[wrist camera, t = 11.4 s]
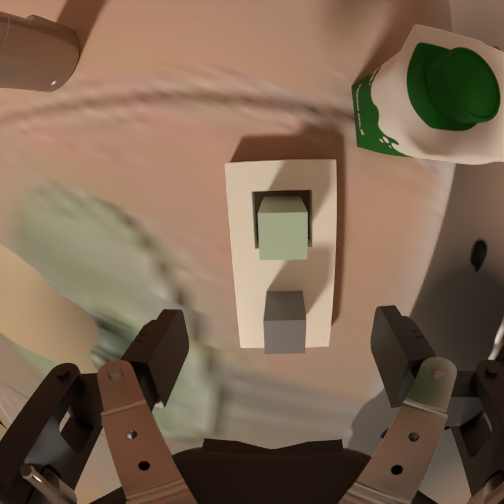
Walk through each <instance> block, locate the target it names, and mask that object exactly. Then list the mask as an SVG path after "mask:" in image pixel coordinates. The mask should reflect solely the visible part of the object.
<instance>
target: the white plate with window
mask: <svg viewBox="0 0 504 504" xmlns="http://www.w3.org/2000/svg"><path fill="white" fill-rule="evenodd" d="M225 174H226V188H227V201H228V214H229V227H230V239H231V250H232V262H233V273H234V284H235V295H236V306H237V316H238V326H239V336H240V346H241V348H265V354H287V353H305V347H327V346H329V340H330V330H331V319H332V306H333V293H334V276H335V256H336V221H337V177H336V160H334V159H286V160H260V161H242V162H229V163H225ZM280 190H309V204H310V239H308V251H307V259H301V260H260V255H259V240H257V228H256V210H255V193H254V191H280Z"/></svg>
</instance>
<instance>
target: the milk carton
mask: <svg viewBox="0 0 504 504" xmlns="http://www.w3.org/2000/svg"><path fill="white" fill-rule="evenodd" d="M351 89H352V96H353V105H354V114H355V124H356V136H357V147H361V148H364V149H368V150H372V151H375V152H379V153H383V154H389V155H395V156H403V157H413V158H423V159H432V160H441V161H452V162H455V163H460V164H473V165H474V164H485V163H490V162H494V161H500V162H504V52H502V51H500V50H498V49H495V48H493V47H490V46H487V45H485V44H484V42H482V41H479V40H477V39H474V38H469V37H466V36H463V35H459V34H455V33H452V32H449V31H445V30H441V29H437V28H433V27H429V26H424V25H419V24H416V25H414V26H413V28H412V30H411V32H410V34H409V35H408V37H407V39H406V41H405V43H404V45H403V46H402V48H401V50H400V51H399V52H398V53H397V54H395V55H394V56H393V57H391V58H390V59H389V60H388V61H386V62H385V63H384V64H383V65H381V66H380V67H379V68H378V69H376V70H375V71H374V72H372V73H371V74H369V75H368V76H366V77H365V78H363V79H362V80H361V81H359V82H358V83H356V84H355V85H353V86H352V87H351Z"/></svg>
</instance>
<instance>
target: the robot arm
mask: <svg viewBox="0 0 504 504" xmlns="http://www.w3.org/2000/svg"><path fill="white" fill-rule="evenodd" d="M79 51H80V47H79V42H78V40H77V39H76V38H75V36H74V30H72V29H70V28H67V27H65V26H63V25H60V24H58V23H55V22H52V21H50V20H47V19H44V18H42V17H39V16H36V15H30V16H28V17H27V18H26V19H25V18H22V17H19V16H15V15H12V14H8V13H4V12H0V88H13V89H25V90H35V91H44V92H51V91H54V90H56V89H58V88H60V87H61V86H62V85H63V84H64V83H65V82H66V81H67V80H68V79H69V77H70V76H71V74H72V73H73V71H74V69H75V67H76V64H77V61H78V58H79ZM188 351H189V339H188V334H187V329H186V325H185V320H184V315H183V312H182V310H175V309H164V310H163V311H162V312H161V313H160V315H159V316H158V318H157V319H156V320H152V321H150V322H149V323H147V324H146V325H144V326H143V328H142V329H141V330H140V332H139V333H138V335H137V336H136V338H135V339H134V341H133V342H132V343H131V345H130V346H129V348H128V349H127V350H126V352H125V353H124V355H123V356H122V358H121V359H120V360H114V361H110V362H108V363H106V364H104V365H103V366H102V367H101V368H100V369H99V370H98V372H97V373H92V374H91V373H90V374H81V373H80V371H79V369H78V367H77V366H76V365H75V364H72V363H63V364H60V365H58V366H56V367H54V368H53V369H52V370H51V371H50V372H49V374H48V375H47V376H46V378H45V379H44V380H43V382H42V383H41V384H40V385H39V387H38V388H37V389H36V391H35V392H34V393H33V395H32V396H31V398H30V399H29V400H28V402H27V403H26V404H25V406H24V407H23V409H22V410H21V411H20V413H19V414H18V416H17V417H16V419H15V420H14V421H13V423H12V424H11V426H10V427H9V429H8V430H7V432H6V433H5V435H4V436H3V438H2V440H1V441H0V504H77V498H76V495H75V493H74V490H75V487H76V485H77V483H78V480H79V478H80V476H81V474H82V471H83V469H84V467H85V465H86V462H87V460H88V458H89V456H90V454H91V451H92V449H93V447H94V445H95V443H96V441H97V439H98V436H99V434H100V432H101V430H102V428H103V426H104V430H105V434H106V438H107V441H108V445H109V448H110V452H111V455H112V459H113V462H114V465H115V468H116V471H117V474H118V477H119V480H120V482H121V485H122V486H121V487H120V488H118V489H116V490H114V491H112V492H111V493H109V494H107V495H105V496H103V497H101V498H99V499H97V500H95V501H93V502H91V503H89V504H438V503H436V502H435V501H433V500H432V499H430V498H429V497H427V496H426V495H424V494H423V493H421V492H420V491H419V490H418V488H419V486H420V484H421V482H422V480H423V478H424V476H425V474H426V472H427V470H428V467H429V464H430V463H431V460H432V458H433V456H434V453H435V451H436V448H437V446H438V443H439V440H440V438H441V435H442V432H443V429H444V427H445V426H450V427H451V430H452V433H453V436H454V438H455V441H456V444H457V447H458V450H459V453H460V457H461V460H462V463H463V466H464V470H465V473H466V477H467V480H468V484H469V488H470V492H471V497H470V499H469V501H468V503H467V504H504V367H503V366H502V365H501V364H500V363H498V362H497V361H494V360H482V361H480V362H479V363H478V364H477V367H476V369H475V371H458V370H457V369H456V367H455V366H454V364H453V363H451V362H450V361H449V360H447V359H444V358H441V357H437V356H436V354H435V353H434V351H433V350H432V348H431V346H430V345H429V343H428V341H427V340H426V338H424V335H423V334H422V332H421V331H420V329H419V327H418V326H417V324H416V323H415V322H414V321H413V320H411V319H410V318H409V317H407V316H402V315H401V314H400V312H399V311H398V309H397V307H396V306H395V305H391V306H378V307H377V308H376V311H375V317H374V323H373V329H372V334H371V351H372V354H373V356H374V359H375V362H376V365H377V367H378V370H379V373H380V376H381V378H382V381H383V384H384V387H385V390H386V393H387V395H388V398H389V401H390V404H391V407H392V408H395V407H401V408H400V410H399V412H398V414H397V415H396V417H395V419H394V421H393V423H392V425H391V426H390V428H389V430H388V432H387V433H386V435H385V437H384V438H383V440H382V442H381V444H380V445H379V447H378V448H377V450H376V452H375V453H374V455H373V456H372V457H371V456H369V455H367V454H364V453H362V452H359V451H356V450H351V449H345V448H343V445H342V439H339V440H328V441H312V442H305V443H301V444H297V445H292V446H288V447H283V448H278V449H267V448H262V447H258V446H254V445H250V444H246V443H242V442H239V441H228V440H216V439H207V438H205V439H204V443H203V447H198V448H193V449H188V450H185V451H182V452H179V453H176V454H174V455H172V454H171V452H170V450H169V448H168V446H167V444H166V442H165V440H164V438H163V436H162V434H161V432H160V430H159V428H158V425H157V423H156V421H155V419H154V417H153V415H152V410H153V408H154V407H160V408H165V406H166V403H167V401H168V399H169V396H170V394H171V392H172V389H173V387H174V385H175V382H176V380H177V378H178V375H179V373H180V371H181V368H182V366H183V364H184V361H185V359H186V357H187V354H188ZM67 411H68V413H69V414H70V417H69V419H68V421H67V422H66V424H65V426H64V428H63V429H62V431H61V433H60V431H59V426H60V423H61V421H62V419H63V417H64V416H65V414H66V412H67ZM485 414H487V416H488V418H489V421H490V423H491V426H492V433H491V431H490V428H489V426H488V424H487V421H486V419H485V417H484V416H485Z"/></svg>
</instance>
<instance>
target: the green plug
mask: <svg viewBox="0 0 504 504" xmlns="http://www.w3.org/2000/svg"><path fill="white" fill-rule="evenodd" d="M258 233H259V255H260V260H301V259H307V251H308V212H307V210H306V208H305V205H304V203H303V201H302V199H301V196H264V197H263V200H262V203H261V205H260V208H259V211H258Z"/></svg>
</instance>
